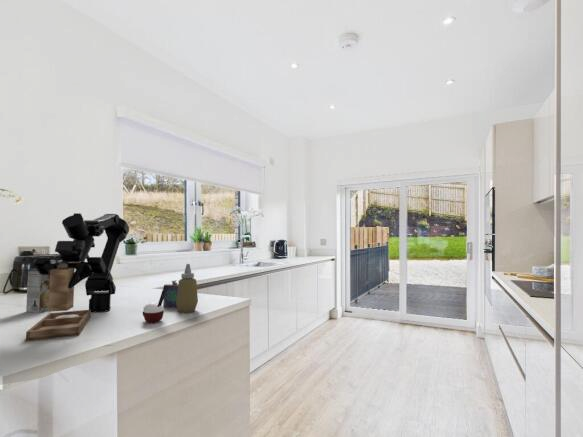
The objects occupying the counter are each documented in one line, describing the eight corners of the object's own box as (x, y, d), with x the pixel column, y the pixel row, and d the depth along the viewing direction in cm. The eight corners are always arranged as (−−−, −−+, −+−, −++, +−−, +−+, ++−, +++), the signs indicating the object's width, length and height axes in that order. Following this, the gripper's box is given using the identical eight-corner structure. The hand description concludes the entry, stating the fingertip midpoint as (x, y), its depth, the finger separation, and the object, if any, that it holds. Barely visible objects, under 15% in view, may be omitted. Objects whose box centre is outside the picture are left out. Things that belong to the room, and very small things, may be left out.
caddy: (90, 316, 110) (91, 309, 111) (78, 335, 89) (79, 326, 90) (49, 320, 105) (49, 312, 105) (25, 341, 84) (26, 331, 84)
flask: (161, 306, 127) (162, 280, 127) (166, 305, 129) (167, 279, 130) (180, 308, 124) (181, 281, 124) (185, 307, 126) (186, 280, 127)
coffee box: (48, 306, 126) (50, 266, 127) (61, 307, 125) (63, 267, 126) (25, 312, 117) (27, 269, 118) (39, 312, 116) (41, 269, 117)
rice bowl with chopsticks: (139, 322, 105) (138, 286, 106) (157, 318, 110) (156, 283, 110) (151, 326, 98) (150, 288, 99) (170, 322, 103) (169, 285, 104)
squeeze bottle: (177, 314, 114) (178, 265, 115) (174, 310, 121) (175, 263, 122) (199, 312, 117) (200, 264, 119) (195, 308, 125) (196, 262, 126)
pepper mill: (73, 307, 96) (74, 261, 97) (66, 310, 92) (68, 263, 92) (56, 307, 95) (57, 262, 95) (48, 311, 90) (50, 263, 91)
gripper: (38, 231, 97) (10, 271, 85) (103, 231, 100) (85, 270, 88) (52, 255, 104) (28, 294, 93) (112, 254, 107) (96, 293, 96)
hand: (59, 288), depth 92 cm, fingers closed on pepper mill, 5 cm apart
